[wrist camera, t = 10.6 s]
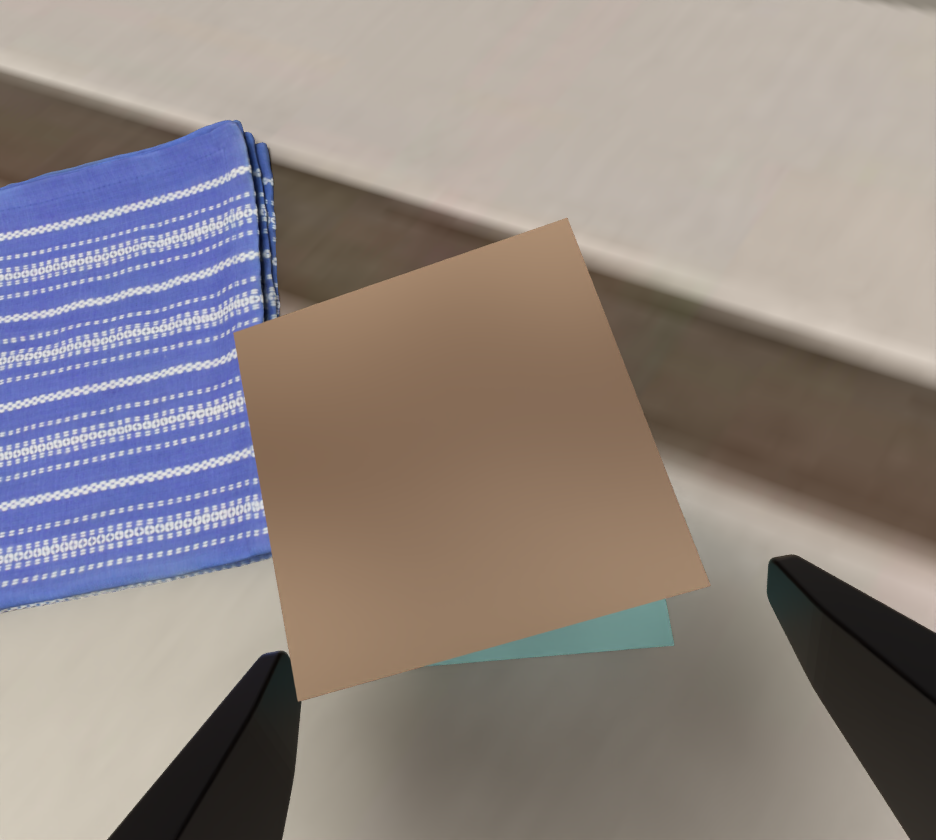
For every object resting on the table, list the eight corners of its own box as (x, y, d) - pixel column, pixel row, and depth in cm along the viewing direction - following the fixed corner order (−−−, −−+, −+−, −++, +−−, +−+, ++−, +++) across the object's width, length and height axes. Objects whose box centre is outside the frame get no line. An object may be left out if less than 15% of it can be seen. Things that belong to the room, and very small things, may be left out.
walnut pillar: (604, 560, 18) (709, 586, 6) (466, 599, 19) (297, 701, 6) (558, 426, 20) (567, 217, 7) (431, 465, 20) (233, 332, 8)
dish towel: (274, 142, 31) (249, 101, 28) (311, 556, 24) (282, 555, 21) (4, 210, 32) (-45, 177, 29) (-33, 623, 25) (-102, 629, 23)
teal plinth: (649, 631, 21) (674, 645, 18) (407, 652, 22) (381, 670, 19) (608, 397, 24) (621, 365, 20) (394, 424, 25) (368, 399, 21)
